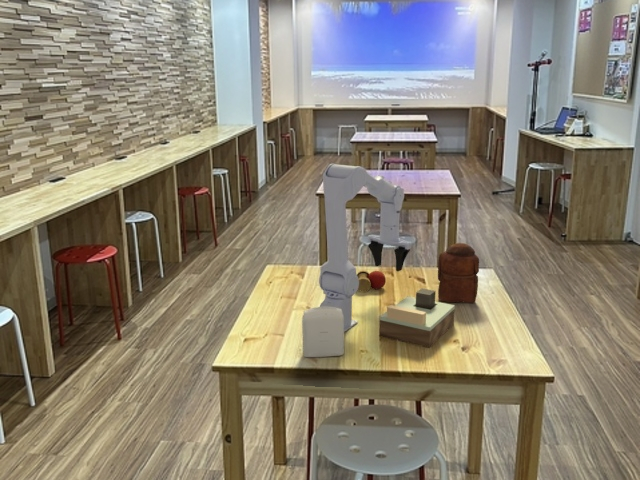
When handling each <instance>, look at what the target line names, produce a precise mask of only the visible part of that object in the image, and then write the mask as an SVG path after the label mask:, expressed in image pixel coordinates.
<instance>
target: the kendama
mask: <svg viewBox="0 0 640 480" xmlns="http://www.w3.org/2000/svg"><path fill="white" fill-rule="evenodd" d="M356 274H357V276H358V279H359V287H358V290H357V291H359V292H368V291H369V290H370V289H374V290H380V289H382V288H384V286H385V285H386V276H385V274H384V272H382V271H380V270H373V271H371V272H370V273H369V272H368V271H367V270H363V269H362V270H359V271H358V272H357V273H356Z"/></svg>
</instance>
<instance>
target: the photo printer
mask: <svg viewBox="0 0 640 480" xmlns="http://www.w3.org/2000/svg"><path fill="white" fill-rule="evenodd" d="M301 323H302V326H301V328H302V329H301V330H302V332H301V333H302V356H304V358H321V357H322V358H323V357H324V358H325V357H336V356H339V357H340V356H343V355H344V354H345V332H344V316H343V313H342V310H341V309H339V308H335V307H326V306H325V307H320V306H316V307H312V308H308V309H306V310H304V311H303V315H302V320H301Z"/></svg>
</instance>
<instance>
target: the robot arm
mask: <svg viewBox="0 0 640 480" xmlns="http://www.w3.org/2000/svg"><path fill="white" fill-rule="evenodd" d="M322 183H323V184H322V187H323V196H324V211H325V213H324V214H325V227H326V228H325V230H326V242H327V243H326V244H327V257H328V259H327V261H325V262H324V263H323V264H322V265H321V266H320V273H319V278H318V284H319V288H320V290H322V292H323V293H322V294H323V295H324V299H323V301H322V302H321V303H320V305H319V307H325V306H326V307H335V308H339V309H341V310H342V313H343V316H344V333H345V332H346V331H348V330H350V329H351V328H352V327H353V326H355V325H356V324H358V320H354V319H353V318H352V316H353V315H352V313H353V312H352V311H353V302H352V301H353V298H352V297H353V296H354V295H355V294H356V293H357V292H358V291H359V290H358V287H359V279H358V276H357V274H358V273H357V268H356V267H355V266H354V264H353V263H352V262H351V261H350V260H349V250H348V249H349V248H348V247H349V246H348V232H347V231H348V230H347V229H348V227H347V226H348V225H347V211H346V208H347V207H346V204H347V202H348V201H352V200H353V199H354V198H355V197H356V195H358V194H359V192H361V190H362V189H363V187H365V188H366V190H367V192H368V194H370V196H372V197H374V198H376V200H377V202H378V203H380V222H379V234H369V235H368V236H367V242H369V244H368V249H369V251H370V252H371V254H372V258H373V261H374V265H375V267H380V266H382V258H383V257H382V254H383V249H384V245H386V246H391V247H397V248H394V250H393V252H394V256H395V271H396V272H401V271H402V270H403V266H404V263H405V260H406V258H407V256H408V254H409V253H410V251H411V249H412V243H413V242H411V241H408V240H404V239H403V238H400V216H401V215H400V214H401V212H400V211H401V210H402V208H403V202H404V200H405V192H404V189H403V188H402V187H401V186H400V185H395V184H393V183H392V181H391V180H386V179H385V176H384V175H380V174H379V175H377V176H376V175H375V176H373V175H372V174H370V173H369V172H368V171H367V168H365V167H363V166H360V165H357V166H356V165H355V166H354V165H346V164H338V163H337V164H336V163H330V164H328V166H327V167H326V168H325V170H324V172H323V173H322Z"/></svg>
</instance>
